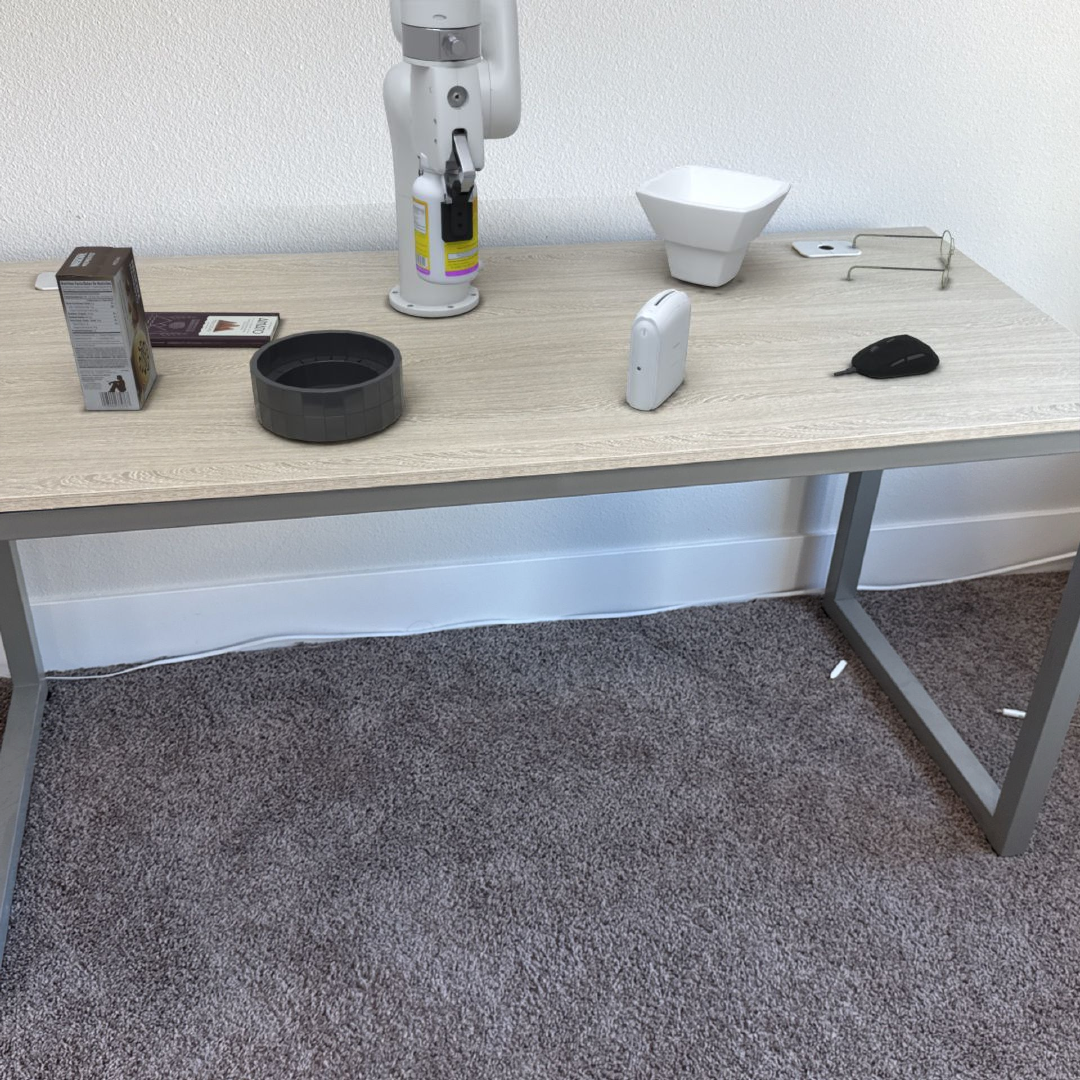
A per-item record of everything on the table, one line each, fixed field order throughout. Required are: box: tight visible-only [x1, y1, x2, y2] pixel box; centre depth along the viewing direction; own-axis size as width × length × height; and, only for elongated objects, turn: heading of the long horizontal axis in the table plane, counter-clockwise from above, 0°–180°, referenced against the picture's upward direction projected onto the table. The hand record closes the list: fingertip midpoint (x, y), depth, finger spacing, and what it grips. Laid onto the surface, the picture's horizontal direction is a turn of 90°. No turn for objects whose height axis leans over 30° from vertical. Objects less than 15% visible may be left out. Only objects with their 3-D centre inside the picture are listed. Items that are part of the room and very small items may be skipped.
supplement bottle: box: [412, 152, 480, 285], centre depth 113 cm, size 7×7×13 cm
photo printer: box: [625, 288, 692, 412], centre depth 127 cm, size 10×4×12 cm, turn 151°
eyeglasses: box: [846, 229, 955, 288], centre depth 168 cm, size 16×15×5 cm
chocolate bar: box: [145, 311, 281, 348], centre depth 142 cm, size 9×1×18 cm
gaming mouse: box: [833, 333, 941, 379], centre depth 137 cm, size 6×15×4 cm, turn 110°
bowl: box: [635, 163, 792, 288], centre depth 159 cm, size 19×19×14 cm
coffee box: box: [54, 245, 158, 411], centre depth 123 cm, size 9×6×16 cm
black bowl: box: [249, 329, 405, 443], centre depth 123 cm, size 17×17×6 cm
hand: (446, 227), depth 113 cm, fingers closed on supplement bottle, 6 cm apart
